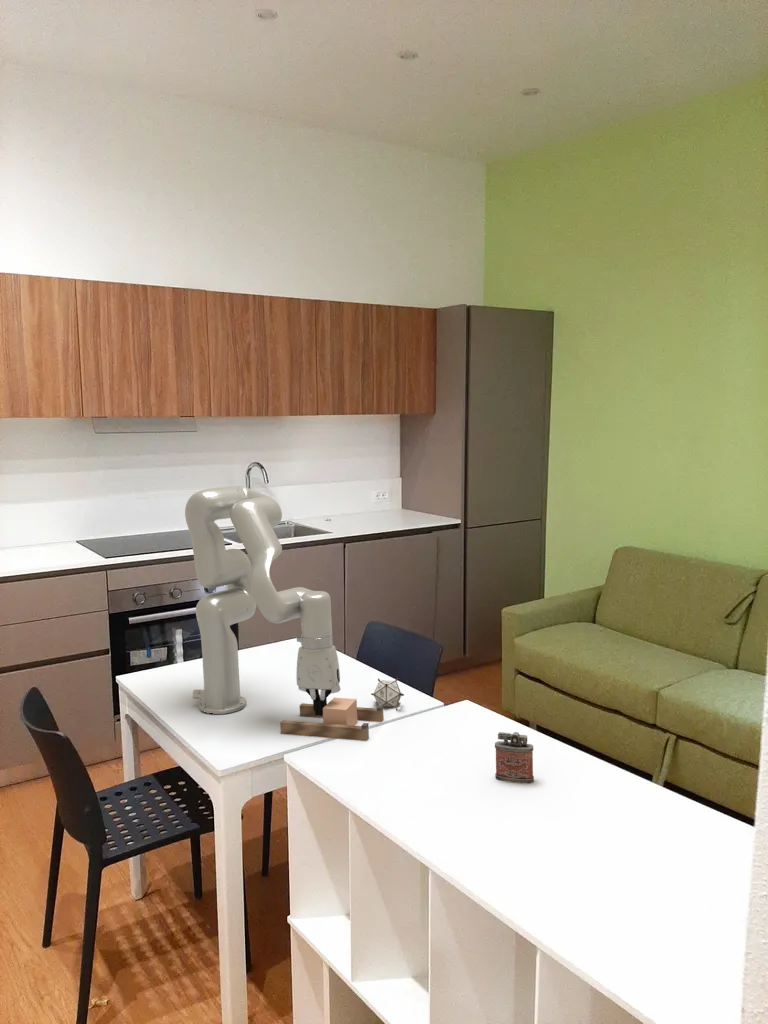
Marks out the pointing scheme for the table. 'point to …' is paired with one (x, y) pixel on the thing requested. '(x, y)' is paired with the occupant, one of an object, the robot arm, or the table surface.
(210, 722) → the table surface
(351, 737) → the chute
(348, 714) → the block
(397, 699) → the game die
